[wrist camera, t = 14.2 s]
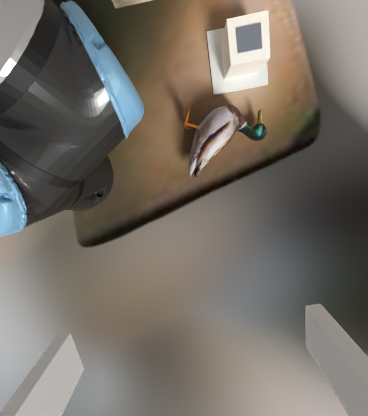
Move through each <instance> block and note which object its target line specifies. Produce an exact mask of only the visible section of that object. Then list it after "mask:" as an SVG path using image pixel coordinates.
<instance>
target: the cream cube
mask: <svg viewBox="0 0 368 416" xmlns="http://www.w3.org/2000/svg"><path fill="white" fill-rule="evenodd" d="M220 44H221V54H222V64H223V74H224V80H227V79H232V78H237V77H242V76H248V75H253V74H257V73H258V72H259V71H260V70H261V68H262V67H263V66H264V65H265V64H266V62H267V61H268V60H269V59H270V39H269V18H268V10H267V11H262V12H257V13H253V14H248V15H243V16H239V17H234V18H229V19H227V20H226V23H225V27H224V30H223V34H222V38H221V41H220Z"/></svg>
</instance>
